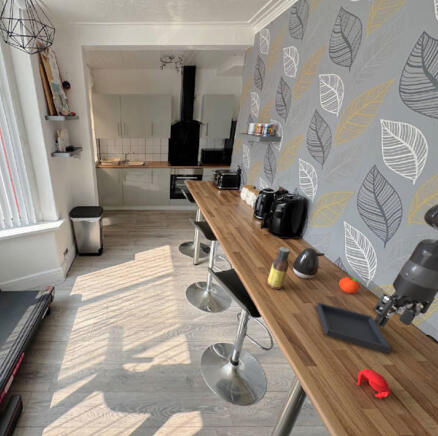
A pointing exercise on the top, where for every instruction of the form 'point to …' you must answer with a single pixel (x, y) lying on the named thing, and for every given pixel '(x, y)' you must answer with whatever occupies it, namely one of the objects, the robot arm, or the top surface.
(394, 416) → the top surface
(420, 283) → the robot arm
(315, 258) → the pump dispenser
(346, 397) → the top surface
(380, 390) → the red animal figurine
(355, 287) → the clementine
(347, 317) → the tray
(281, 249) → the sauce bottle
